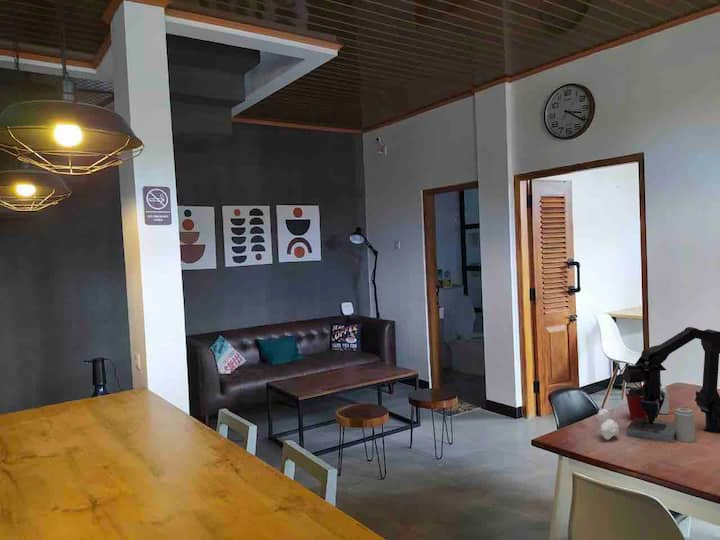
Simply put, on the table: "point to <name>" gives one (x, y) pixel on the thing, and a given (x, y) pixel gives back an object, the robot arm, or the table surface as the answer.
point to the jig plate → (652, 430)
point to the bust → (607, 424)
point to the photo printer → (665, 401)
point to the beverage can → (684, 425)
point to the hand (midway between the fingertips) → (653, 420)
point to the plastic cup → (635, 406)
